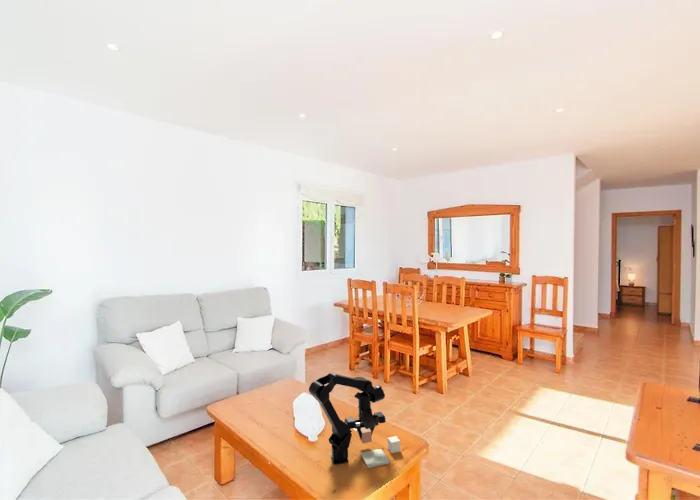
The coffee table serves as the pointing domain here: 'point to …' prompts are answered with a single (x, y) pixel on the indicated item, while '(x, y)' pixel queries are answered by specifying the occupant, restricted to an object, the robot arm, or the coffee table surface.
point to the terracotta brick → (366, 435)
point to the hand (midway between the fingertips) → (365, 437)
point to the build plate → (374, 458)
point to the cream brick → (394, 444)
